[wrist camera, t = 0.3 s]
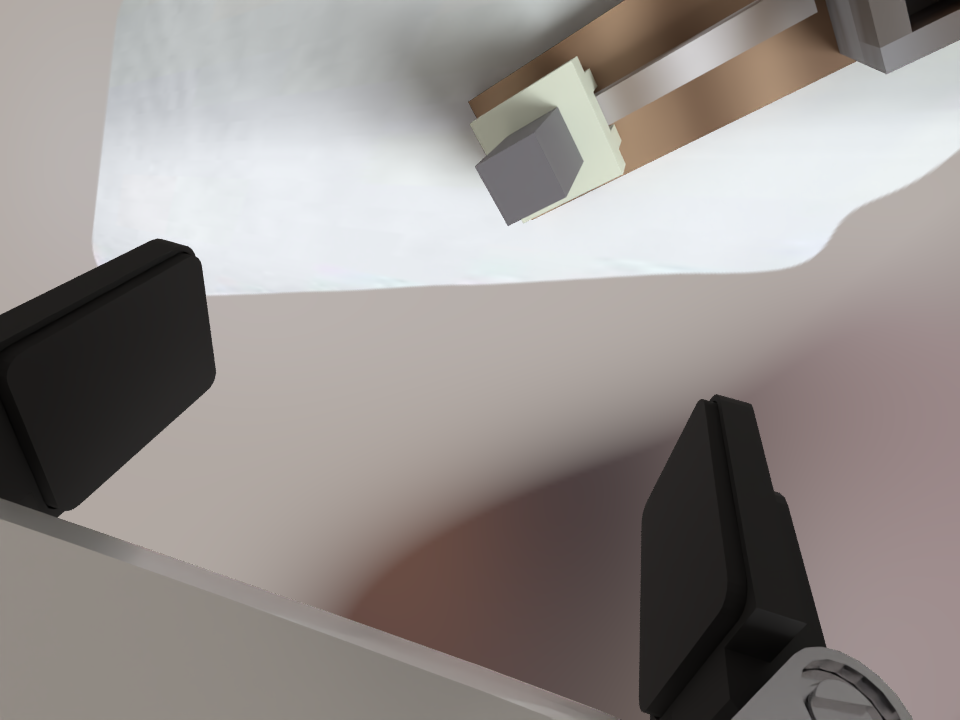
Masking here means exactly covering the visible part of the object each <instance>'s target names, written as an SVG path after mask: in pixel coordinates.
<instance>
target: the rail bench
mask: <svg viewBox="0 0 960 720" xmlns="http://www.w3.org/2000/svg"><path fill="white" fill-rule="evenodd" d="M959 40H960V0H624V1H623V2H621V3H620V4H618V5H617V6H615V7H614V8H612V9H611V10H609V11H607V12H606V13H604V14H603V15H601V16H600V17H598V18H597V19H595V20H594V21H592V22H591V23H589V24H587V25H586V26H584V27H583V28H581V29H580V30H578V31H577V32H575V33H574V34H572V35H570V36H569V37H567V38H566V39H564V40H563V41H561V42H560V43H558V44H557V45H555V46H554V47H552V48H550V49H549V50H547V51H546V52H544V53H543V54H541V55H540V56H538V57H537V58H535V59H534V60H532V61H530V62H529V63H527V64H526V65H524V66H523V67H521V68H520V69H518V70H517V71H515V72H514V73H512V74H510V75H509V76H507V77H506V78H504V79H503V80H501V81H500V82H498V83H497V84H495V85H493V86H492V87H490V88H489V89H487V90H486V91H484V92H483V93H481V94H480V95H478V96H477V97H475V98H473V99H472V100H470V101H469V102H468V103H469V104H470V106H471V108H472V110H473V112H474V114H475V116H476V118H479V117H480V116H482V115H483V114H485V113H487V112H488V111H490V110H491V109H493V108H495V107H496V106H498V105H499V104H501V103H503V102H504V101H506V100H507V99H509V98H511V97H512V96H514V95H515V94H517V93H519V92H520V91H522V90H523V89H525V88H527V87H528V86H530V85H531V84H533V83H535V82H536V81H538V80H539V79H541V78H543V77H544V76H546V75H547V74H549V73H551V72H552V71H554V70H555V69H557V68H559V67H560V66H562V65H563V64H565V63H567V62H568V61H570V60H571V59H573V58H575V57H576V56H577V57H578V59H579V61H580V64H581V66H582V68H583V70H584V71H586V70H587V69H589V68H590V71H591V73H592V75H593V77H594V80H595V82H596V84H597V87H596V89H595V90H594V95H595V97H596V99H597V101H598V104H599V106H600V108H601V110H602V113H603V115H604V117H605V119H606V121H607V124H608V126H611V125H613V124H614V125H615V127H616V129H617V131H618V134H619V136H620V138H621V140H622V141H621V144H620V147H619V150H620V153H621V155H622V157H623V159H624V162H625V164H626V165H625V169H624V172H623V175H625V174H627V173H629V172H631V171H633V170H635V169H637V168H639V167H641V166H643V165H645V164H647V163H650V162H652V161H654V160H656V159H658V158H660V157H662V156H664V155H666V154H668V153H670V152H672V151H674V150H676V149H678V148H680V147H682V146H684V145H686V144H688V143H690V142H692V141H694V140H697V139H699V138H701V137H703V136H705V135H707V134H709V133H711V132H713V131H715V130H717V129H719V128H721V127H723V126H725V125H727V124H729V123H731V122H733V121H735V120H737V119H739V118H742V117H744V116H746V115H748V114H750V113H752V112H754V111H756V110H758V109H760V108H762V107H764V106H766V105H768V104H770V103H772V102H774V101H776V100H778V99H780V98H782V97H784V96H786V95H789V94H791V93H793V92H795V91H797V90H799V89H801V88H803V87H805V86H807V85H809V84H811V83H813V82H815V81H817V80H819V79H821V78H823V77H825V76H827V75H829V74H831V73H834V72H836V71H838V70H840V69H842V68H844V67H846V66H848V65H850V64H852V63H854V62H856V61H858V62H860V63H863V64H865V65H867V66H869V67H872V68H874V69H876V70H878V71H881V72H883V73H885V74H888V73H890V72H892V71H895V70H897V69H899V68H901V67H903V66H905V65H907V64H909V63H912V62H914V61H916V60H918V59H920V58H922V57H924V56H927V55H929V54H931V53H933V52H935V51H937V50H939V49H941V48H944V47H946V46H948V45H950V44H952V43H954V42H956V41H959ZM623 175H621V176H623ZM621 176H619V177H621ZM619 177H616V178H614V179H612V180H610V181H608V182H606V183H604V184H602V185H605V184H607V183H609V182H611V181H613V180H615V179H617V178H619ZM602 185H600V186H602ZM600 186H598V187H600ZM598 187H596V188H598ZM596 188H594V189H596ZM594 189H592V190H594ZM592 190H590V191H592ZM590 191H588V192H590ZM588 192H586V193H588ZM586 193H584V194H586ZM584 194H582V195H584ZM582 195H580V196H582ZM580 196H578V197H580ZM578 197H576V198H578ZM576 198H574V199H576ZM574 199H572V200H574ZM572 200H570V201H572ZM570 201H568V202H570ZM568 202H565V203H563V204H561V205H559V206H557V207H560V206H562V205H564V204H566V203H568ZM557 207H555V208H557ZM555 208H553V209H555ZM553 209H551V210H553ZM551 210H549V211H551ZM549 211H547V212H549ZM547 212H545V213H547ZM545 213H543V214H545ZM543 214H541V215H543ZM541 215H539V216H541ZM539 216H537V217H539ZM537 217H535V218H537ZM535 218H533V219H535ZM533 219H531V220H533Z"/></svg>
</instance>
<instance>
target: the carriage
mask: <svg viewBox="0 0 960 720" xmlns="http://www.w3.org/2000/svg"><path fill="white" fill-rule="evenodd" d="M596 87H597V84H596V82H595V80H594V77H593V75H592V73H591V71H590V68H589V69H587V70H586V71H584V70H583V68H582V66H581V64H580V61H579V59H578V57H577V56H576V57H575V58H573V59H571V60H570V61H568V62H567V63H565V64H563V65H562V66H560V67H559V68H557V69H555V70H554V71H552V72H551V73H549V74H547V75H546V76H544V77H543V78H541V79H539V80H538V81H536V82H535V83H533V84H531V85H530V86H528V87H527V88H525V89H523V90H522V91H520V92H519V93H517V94H515V95H514V96H512V97H511V98H509V99H507V100H506V101H504V102H503V103H501V104H499V105H498V106H496V107H495V108H493V109H491V110H490V111H488V112H487V113H485V114H483V115H482V116H480V117H479V118H477V119H476V120H475V121H473V122H472V123H470V126H471V128H472V130H473V132H474V133H475V135H476V137H477V139H478V141H479V143H480V145H481V146H482V148H483V150H484V152H485V154H486V157H485V158H484V159H483V160H482V161H480V162H479V163H478V164H477V165H476V166H475V168H476V170H477V171H478V173H479V175H480V177H481V179H482V180H483V182H484V184H485V186H486V188H487V189H488V191H489V193H490V195H491V197H492V198H493V200H494V202H495V204H496V205H497V207H498V209H499V211H500V213H501V214H502V216H503V218H504V220H505V222H506V223H507V225H508V226H509V225H511V224H513V223H515V222H517V221H519V220H522V222H523V223H525V222H527V221H529V220H531V219H533V218H535V217H537V216H539V215H541V214H543V213H545V212H547V211H549V210H551V209H553V208H555V207H557V206H559V205H561V204H563V203H565V202H568V201H570V200H572V199H574V198H576V197H578V196H580V195H582V194H584V193H586V192H588V191H590V190H592V189H594V188H596V187H598V186H600V185H602V184H604V183H606V182H608V181H610V180H612V179H614V178H616V177H619V176H621V175H623V172H624V169H625V165H626V164H625V162H624V159H623V157H622V155H621V153H620V150H619V147H620V144H621V141H622V140H621V138H620V136H619V134H618V131H617V129H616V127H615V125H614V124H613V125H611V126H608V124H607V121H606V119H605V117H604V115H603V113H602V110H601V108H600V106H599V104H598V101H597V99H596V97H595V95H594V90H595V89H596Z"/></svg>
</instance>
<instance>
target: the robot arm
mask: <svg viewBox="0 0 960 720" xmlns="http://www.w3.org/2000/svg"><path fill="white" fill-rule="evenodd" d="M215 375H216V368H215V361H214V353H213V346H212V338H211V331H210V324H209V316H208V308H207V302H206V294H205V286H204V279H203V271H202V265H201V262H200V260H199V259H198V258H197V257H195V253H194V252H193V250H192V249H191V248H189V247H188V246H184V245H181V244H177V243H174V242H170V241H167V240H163V239H154V240H151V241H149V242H147V243H145V244H143V245H141V246H139V247H137V248H135V249H133V250H131V251H129V252H127V253H125V254H123V255H121V256H119V257H117V258H115V259H113V260H111V261H109V262H107V263H105V264H102V265H100V266H98V267H97V268H94V269H92V270H90V271H88V272H86V273H84V274H82V275H80V276H78V277H76V278H74V279H72V280H70V281H68V282H66V283H64V284H62V285H60V286H58V287H56V288H54V289H52V290H50V291H48V292H46V293H44V294H42V295H40V296H38V297H36V298H34V299H32V300H29V301H27V302H26V303H23V304H21V305H19V306H17V307H16V308H13V309H11V310H9V311H7V312H5V313H3V314H1V315H0V720H621V719H618V718H616V717H614V716H612V715H609V714H607V713H605V712H602V711H599V710H597V709H594V708H591V707H589V706H586V705H583V704H581V703H578V702H575V701H573V700H570V699H567V698H565V697H562V696H559V695H557V694H554V693H551V692H548V691H546V690H543V689H541V688H538V687H535V686H532V685H530V684H527V683H525V682H521V681H519V680H516V679H513V678H511V677H509V676H506V675H503V674H500V673H497V672H495V671H492V670H490V669H487V668H484V667H482V666H479V665H476V664H473V663H470V662H467V661H465V660H462V659H459V658H456V657H453V656H450V655H447V654H445V653H442V652H439V651H437V650H434V649H431V648H428V647H425V646H423V645H420V644H417V643H414V642H411V641H408V640H406V639H403V638H400V637H397V636H394V635H391V634H389V633H386V632H383V631H380V630H377V629H374V628H372V627H369V626H366V625H363V624H361V623H358V622H355V621H352V620H349V619H346V618H344V617H341V616H338V615H335V614H332V613H330V612H327V611H324V610H321V609H318V608H315V607H313V606H310V605H307V604H304V603H301V602H298V601H295V600H293V599H290V598H287V597H284V596H281V595H278V594H276V593H272V592H270V591H267V590H264V589H261V588H258V587H256V586H253V585H250V584H247V583H244V582H241V581H238V580H236V579H232V578H230V577H227V576H224V575H221V574H218V573H215V572H213V571H210V570H207V569H204V568H201V567H198V566H195V565H193V564H190V563H187V562H184V561H181V560H178V559H175V558H172V557H170V556H167V555H164V554H161V553H158V552H155V551H152V550H150V549H147V548H144V547H141V546H138V545H135V544H132V543H129V542H126V541H124V540H121V539H118V538H115V537H112V536H109V535H106V534H103V533H100V532H97V531H95V530H92V529H89V528H86V527H83V526H80V525H77V524H74V523H71V522H68V521H65V520H62V519H59V518H57V517H58V516H59V515H61V514H62V513H63V512H64V511H69V510H72V509H74V508H76V507H77V506H78V505H80V504H81V503H82V502H83V501H84V500H85V499H86V498H88V497H89V496H90V495H91V494H92V493H93V492H94V491H95V490H96V489H98V488H99V487H100V486H101V485H102V484H103V483H104V482H105V481H107V480H108V479H109V478H110V477H111V476H112V475H113V474H114V473H115V472H117V471H118V470H119V469H120V468H121V467H122V466H123V465H124V464H126V463H127V462H128V461H129V460H130V459H131V458H132V457H133V456H134V455H136V454H137V453H138V452H139V451H140V450H141V449H142V448H143V447H145V445H147V444H148V443H149V442H150V441H151V440H152V439H153V438H154V437H156V436H157V435H158V434H159V433H160V432H161V431H162V430H163V429H164V428H166V427H167V426H168V425H169V424H170V423H171V422H172V421H174V420H175V419H176V418H177V417H178V416H179V415H180V414H181V413H182V412H184V411H185V410H186V409H187V408H188V407H189V406H190V405H191V404H193V403H194V402H195V401H196V400H197V399H198V398H199V397H200V396H202V395H203V394H204V393H205V392H206V391H207V390H208V389H209V388H210V387H211V385H212V384H213V382H214V379H215ZM641 533H642V534H641V536H642V537H641V598H640V601H641V602H640V666H639V669H640V670H639V705H640V709H641V711H643V712H645V713H647V714H650V720H913V719H912V716H911V715H910V713H909V712H908V710H907V709H906V708H905V706H904V705H903V703H902V702H901V700H900V699H899V697H898V696H897V695H896V693H894V692H893V690H892V689H891V688H890V687H889V686H888V685H887V684H886V683H885V682H884V681H883V680H882V679H881V678H880V677H879V676H878V675H877V674H875V673H874V672H873V671H872V670H870V669H869V668H868V667H866V666H865V665H863V664H862V663H861V662H860V661H858V660H856V659H854V658H852V657H850V656H848V655H846V654H844V653H842V652H840V651H837V650H833V649H829V648H826V644H825V640H824V636H823V633H822V629H821V626H820V622H819V618H818V614H817V611H816V607H815V603H814V600H813V596H812V592H811V589H810V585H809V581H808V577H807V574H806V571H805V567H804V563H803V559H802V555H801V552H800V548H799V544H798V541H797V537H796V533H795V530H794V526H793V522H792V518H791V515H790V511H789V508H788V504H787V502H786V500H785V497H783V496H782V495H781V494H780V493H778V492H775V491H774V490H773V486H772V482H771V478H770V474H769V470H768V466H767V462H766V458H765V454H764V450H763V446H762V442H761V438H760V434H759V430H758V426H757V422H756V418H755V414H754V410H753V407H752V405H751V404H749V403H746V402H742V401H739V400H735V399H731V398H728V397H724V396H721V395H717V394H716V395H714V396H713V397H712V398H711V399H710V401H707V400H704V399H701V400H699V401H698V403H697V404H696V406H695V408H694V410H693V412H692V414H691V416H690V418H689V420H688V422H687V424H686V426H685V428H684V430H683V432H682V434H681V436H680V437H679V440H678V442H677V444H676V445H675V447H674V449H673V451H672V453H671V455H670V457H669V459H668V461H667V463H666V465H665V467H664V469H663V471H662V473H661V475H660V477H659V479H658V481H657V483H656V485H655V487H654V489H653V491H652V493H651V495H650V497H649V499H648V501H647V503H646V505H645V508H644V512H643V516H642V531H641Z"/></svg>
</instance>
